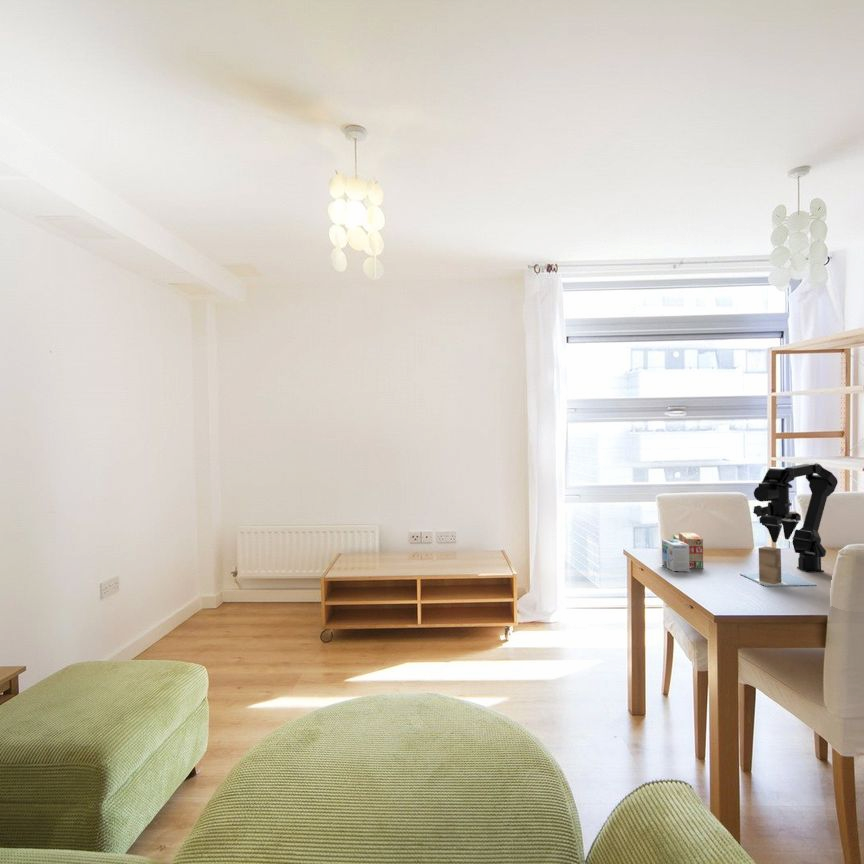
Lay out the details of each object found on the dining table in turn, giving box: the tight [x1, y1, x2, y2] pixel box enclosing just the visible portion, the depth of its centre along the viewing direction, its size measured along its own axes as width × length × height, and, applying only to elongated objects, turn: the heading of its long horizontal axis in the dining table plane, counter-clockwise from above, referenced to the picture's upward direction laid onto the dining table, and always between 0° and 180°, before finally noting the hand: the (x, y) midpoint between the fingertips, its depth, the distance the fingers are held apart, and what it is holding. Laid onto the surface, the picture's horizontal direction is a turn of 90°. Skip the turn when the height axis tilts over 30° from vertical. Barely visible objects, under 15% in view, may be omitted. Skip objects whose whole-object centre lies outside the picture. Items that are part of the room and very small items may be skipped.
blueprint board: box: [739, 572, 817, 587], centre depth 187 cm, size 18×15×1 cm
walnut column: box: [758, 545, 782, 584], centre depth 183 cm, size 5×5×12 cm
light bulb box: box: [661, 539, 690, 573], centre depth 205 cm, size 11×7×11 cm, turn 178°
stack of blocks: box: [672, 532, 704, 569], centre depth 215 cm, size 21×6×12 cm, turn 168°
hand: (780, 540), depth 193 cm, fingers open, 9 cm apart
